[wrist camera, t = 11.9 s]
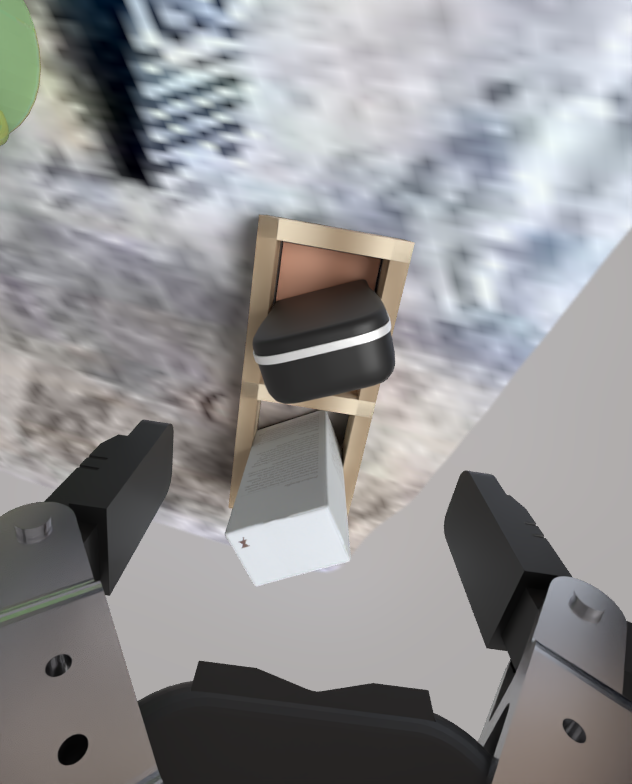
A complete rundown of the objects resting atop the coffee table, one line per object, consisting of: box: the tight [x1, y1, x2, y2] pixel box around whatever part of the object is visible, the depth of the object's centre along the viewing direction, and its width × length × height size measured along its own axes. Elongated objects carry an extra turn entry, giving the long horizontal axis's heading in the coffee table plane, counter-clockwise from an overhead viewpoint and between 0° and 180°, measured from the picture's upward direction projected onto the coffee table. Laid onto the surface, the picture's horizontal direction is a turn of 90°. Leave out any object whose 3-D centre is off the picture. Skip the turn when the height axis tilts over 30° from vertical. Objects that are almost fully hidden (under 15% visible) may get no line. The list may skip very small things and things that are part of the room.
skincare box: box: [225, 410, 351, 586], centre depth 28 cm, size 6×4×12 cm
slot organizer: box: [229, 215, 414, 517], centre depth 30 cm, size 9×22×3 cm, turn 171°
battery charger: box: [252, 279, 395, 404], centre depth 24 cm, size 7×4×11 cm, turn 104°
